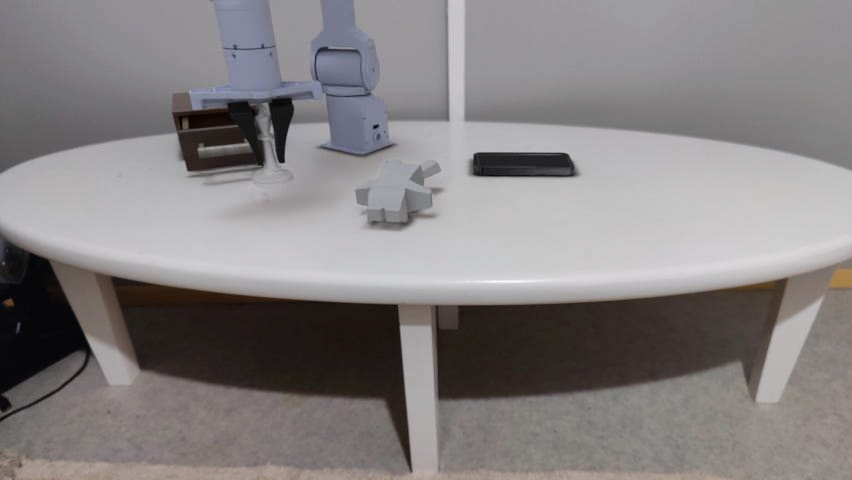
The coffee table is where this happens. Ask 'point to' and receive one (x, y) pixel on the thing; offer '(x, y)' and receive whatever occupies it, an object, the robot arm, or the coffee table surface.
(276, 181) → the chess piece
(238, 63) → the robot arm
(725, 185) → the coffee table surface
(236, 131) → the drawer
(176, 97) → the cabinet
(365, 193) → the grey figure-shaped block
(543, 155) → the phone
